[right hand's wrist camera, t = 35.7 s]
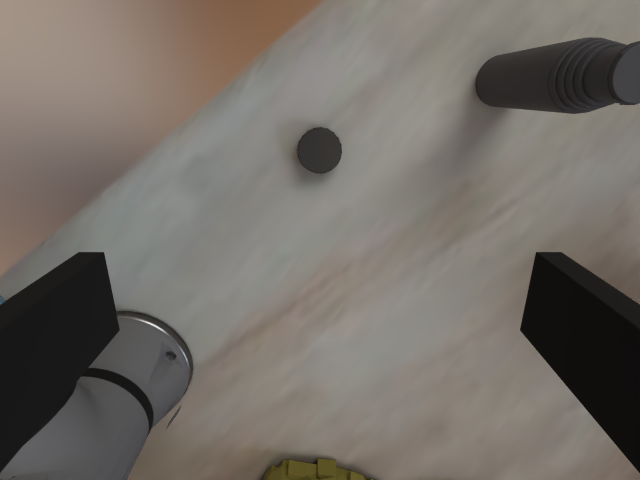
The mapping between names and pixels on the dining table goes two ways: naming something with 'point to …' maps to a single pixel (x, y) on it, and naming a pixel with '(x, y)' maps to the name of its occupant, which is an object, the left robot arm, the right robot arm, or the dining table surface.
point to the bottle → (563, 77)
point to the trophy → (310, 471)
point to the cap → (319, 150)
